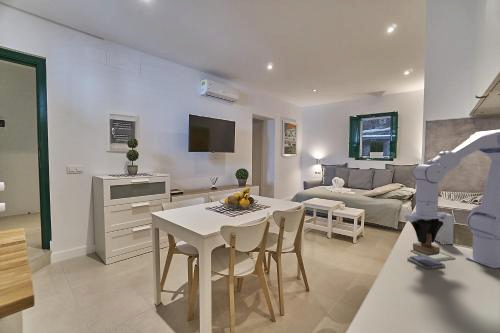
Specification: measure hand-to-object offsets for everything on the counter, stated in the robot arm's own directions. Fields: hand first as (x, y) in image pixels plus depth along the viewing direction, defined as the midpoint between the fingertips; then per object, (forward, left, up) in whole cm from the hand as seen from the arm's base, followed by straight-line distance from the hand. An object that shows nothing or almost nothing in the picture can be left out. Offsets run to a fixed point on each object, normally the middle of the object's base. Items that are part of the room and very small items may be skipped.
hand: (425, 242), depth 75 cm
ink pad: (0, 0, -7) cm, 7 cm away
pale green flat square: (-9, -5, -7) cm, 13 cm away
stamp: (0, 0, -3) cm, 3 cm away
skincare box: (-26, -14, -7) cm, 30 cm away
